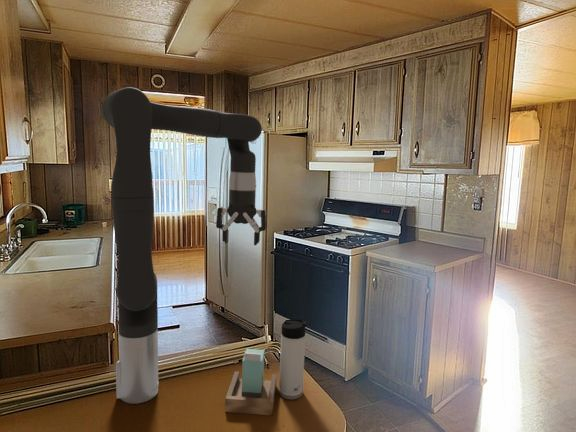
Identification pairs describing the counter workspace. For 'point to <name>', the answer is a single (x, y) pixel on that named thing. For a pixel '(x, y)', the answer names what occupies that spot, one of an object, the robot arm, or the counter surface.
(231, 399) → the wooden tray
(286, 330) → the travel mug
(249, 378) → the mint green block
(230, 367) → the counter surface
